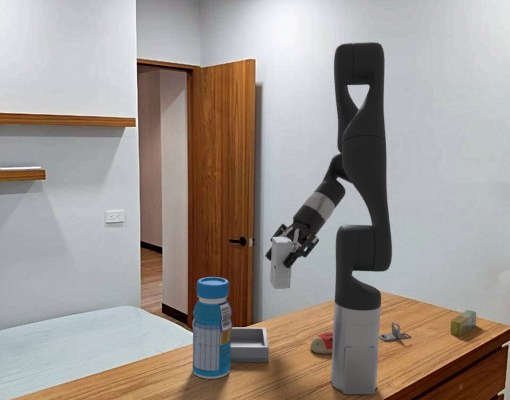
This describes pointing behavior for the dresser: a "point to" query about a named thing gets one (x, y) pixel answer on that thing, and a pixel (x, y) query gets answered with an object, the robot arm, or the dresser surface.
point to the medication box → (463, 323)
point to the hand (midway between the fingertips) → (276, 262)
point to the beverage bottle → (212, 329)
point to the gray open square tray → (249, 345)
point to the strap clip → (394, 334)
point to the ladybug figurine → (322, 343)
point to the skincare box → (280, 262)
